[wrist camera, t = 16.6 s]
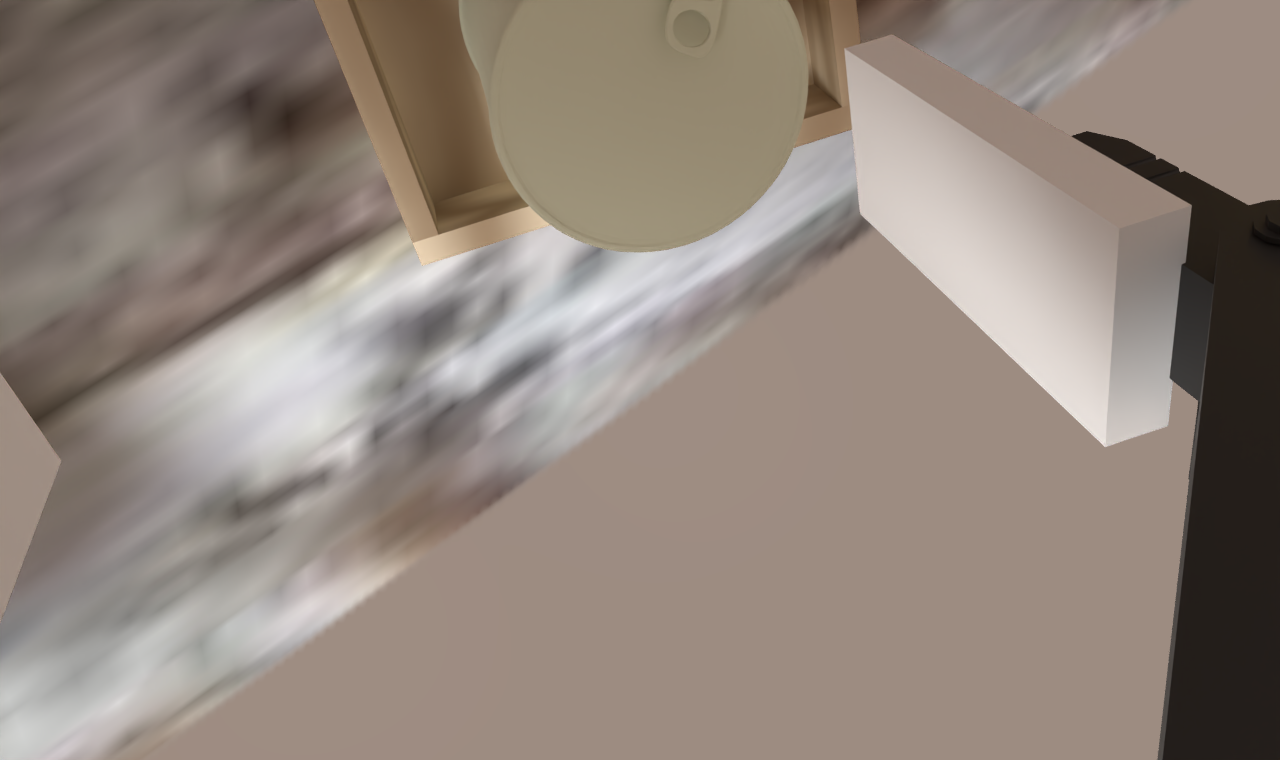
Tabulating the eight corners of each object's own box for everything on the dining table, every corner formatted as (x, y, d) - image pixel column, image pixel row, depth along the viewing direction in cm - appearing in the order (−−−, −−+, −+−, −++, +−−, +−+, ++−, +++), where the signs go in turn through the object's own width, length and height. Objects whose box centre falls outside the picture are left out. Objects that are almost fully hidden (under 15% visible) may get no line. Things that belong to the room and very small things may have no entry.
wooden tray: (417, 222, 42) (421, 266, 39) (282, -115, 35) (274, -97, 32) (831, 92, 43) (869, 124, 40) (785, -264, 36) (828, -261, 33)
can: (743, -78, 38) (873, -2, 28) (654, 155, 42) (740, 292, 32) (500, -174, 35) (550, -127, 25) (429, 88, 39) (448, 219, 29)
